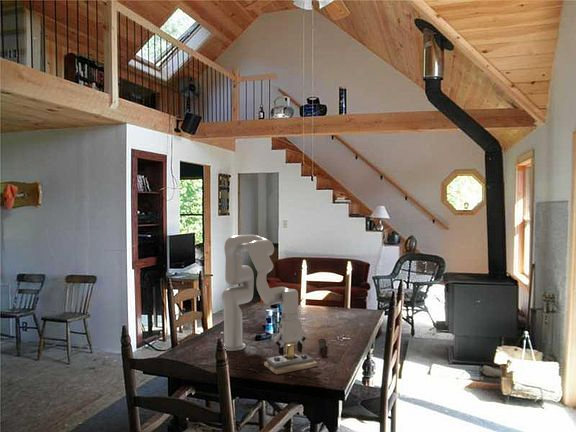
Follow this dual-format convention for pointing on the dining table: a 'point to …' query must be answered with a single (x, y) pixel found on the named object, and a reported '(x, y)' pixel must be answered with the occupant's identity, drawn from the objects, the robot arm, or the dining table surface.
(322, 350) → the hand tool
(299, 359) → the grey slotted fixture board
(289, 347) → the brass pin
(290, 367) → the birch board
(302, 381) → the dining table surface
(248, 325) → the dining table surface
